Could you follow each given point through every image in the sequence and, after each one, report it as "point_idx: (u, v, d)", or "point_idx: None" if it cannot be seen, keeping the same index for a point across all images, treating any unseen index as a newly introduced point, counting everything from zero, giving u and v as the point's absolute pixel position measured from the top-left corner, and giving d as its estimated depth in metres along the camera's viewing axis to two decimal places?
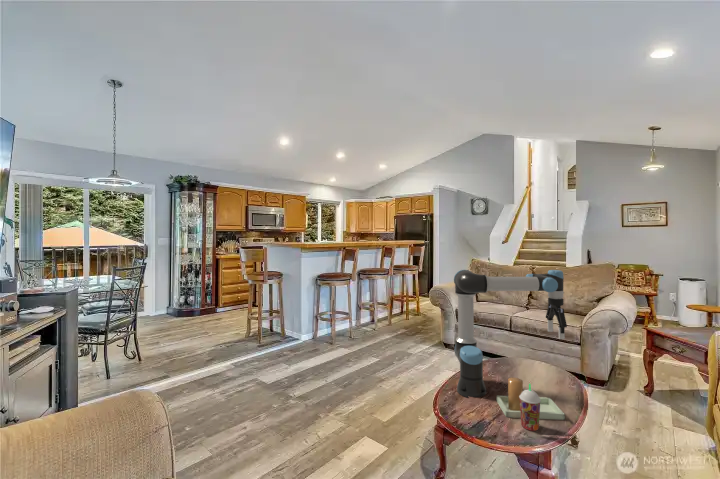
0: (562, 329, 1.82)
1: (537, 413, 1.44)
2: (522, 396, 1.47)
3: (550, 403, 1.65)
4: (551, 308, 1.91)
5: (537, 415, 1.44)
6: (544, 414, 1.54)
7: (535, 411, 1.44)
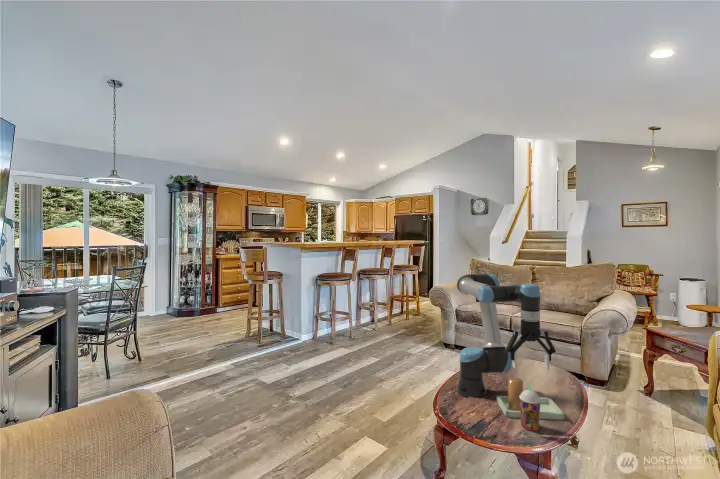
0: (510, 354, 1.49)
1: (537, 413, 1.44)
2: (522, 396, 1.47)
3: (550, 403, 1.65)
4: None
5: (537, 415, 1.44)
6: (544, 414, 1.54)
7: (535, 411, 1.44)
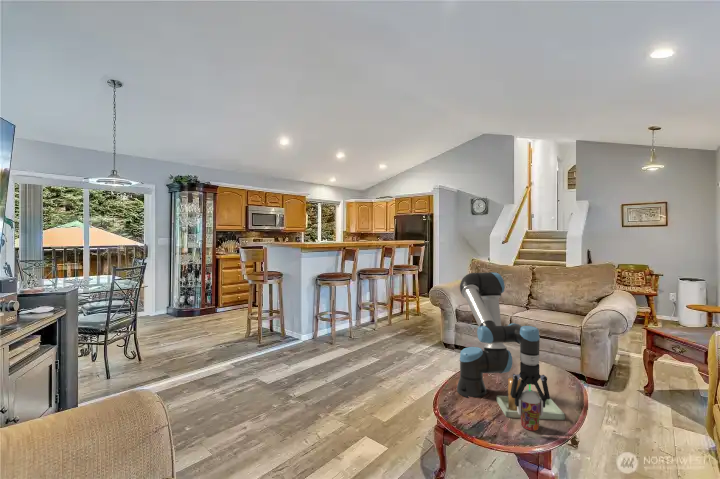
0: (515, 400, 1.49)
1: (537, 413, 1.44)
2: (522, 396, 1.47)
3: (550, 403, 1.65)
4: None
5: (537, 415, 1.44)
6: (544, 414, 1.54)
7: (535, 411, 1.44)
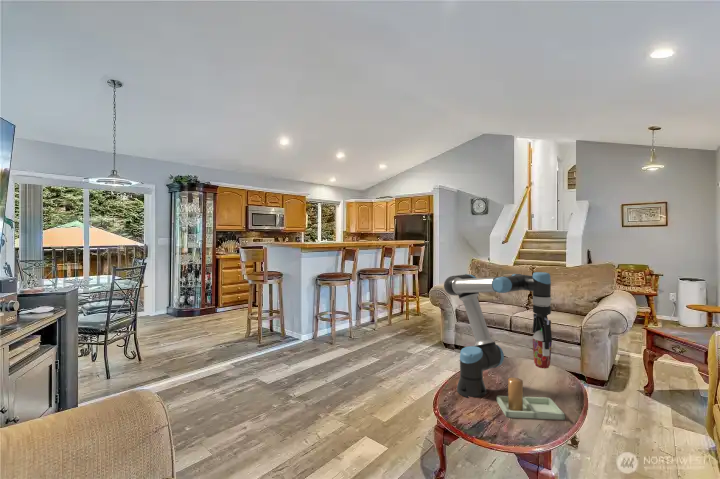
0: (546, 344, 1.55)
1: None
2: None
3: (550, 403, 1.65)
4: (536, 317, 1.62)
5: None
6: (544, 414, 1.54)
7: None
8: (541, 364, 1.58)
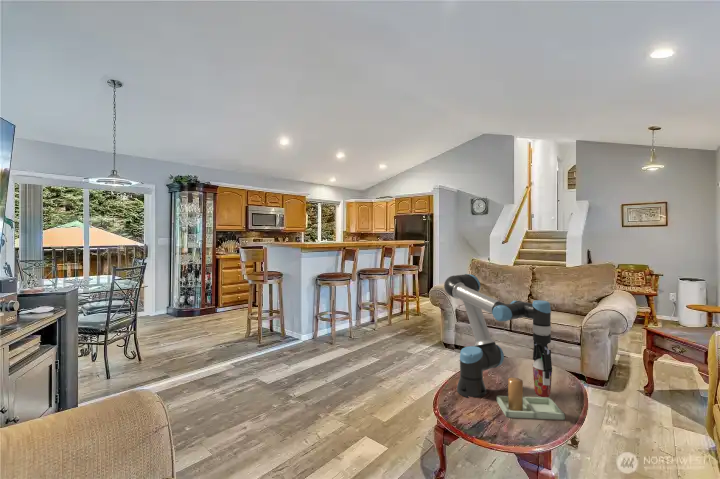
0: (547, 374, 1.55)
1: None
2: None
3: (550, 403, 1.65)
4: (536, 345, 1.62)
5: None
6: (544, 414, 1.54)
7: None
8: (541, 393, 1.58)
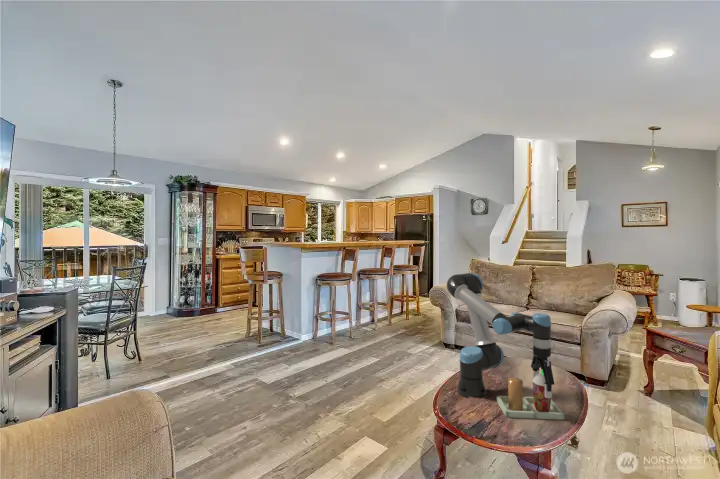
0: (549, 386, 1.53)
1: None
2: None
3: None
4: (536, 359, 1.62)
5: None
6: (544, 414, 1.54)
7: None
8: (541, 409, 1.59)
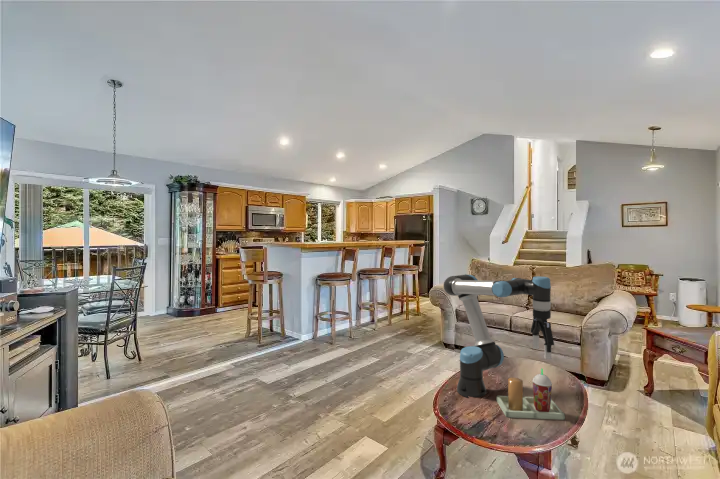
0: (548, 347, 1.53)
1: None
2: (547, 382, 1.58)
3: None
4: (536, 321, 1.62)
5: None
6: (544, 414, 1.54)
7: None
8: (541, 409, 1.59)
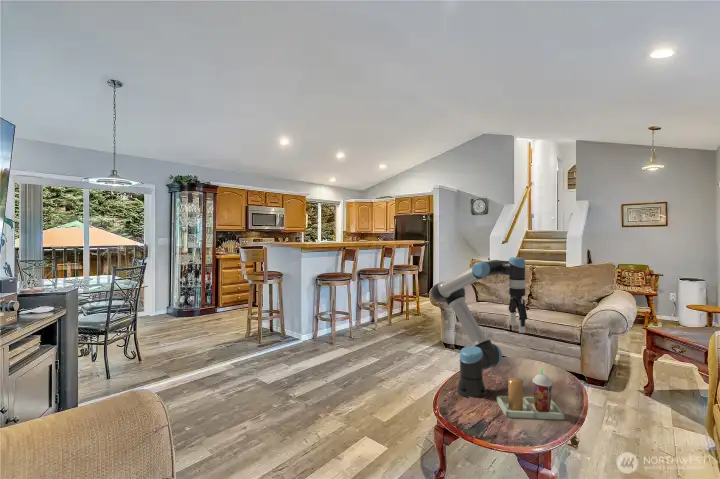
0: (522, 322, 1.65)
1: None
2: (547, 382, 1.58)
3: None
4: (512, 299, 1.74)
5: None
6: (544, 414, 1.54)
7: None
8: (541, 409, 1.59)
